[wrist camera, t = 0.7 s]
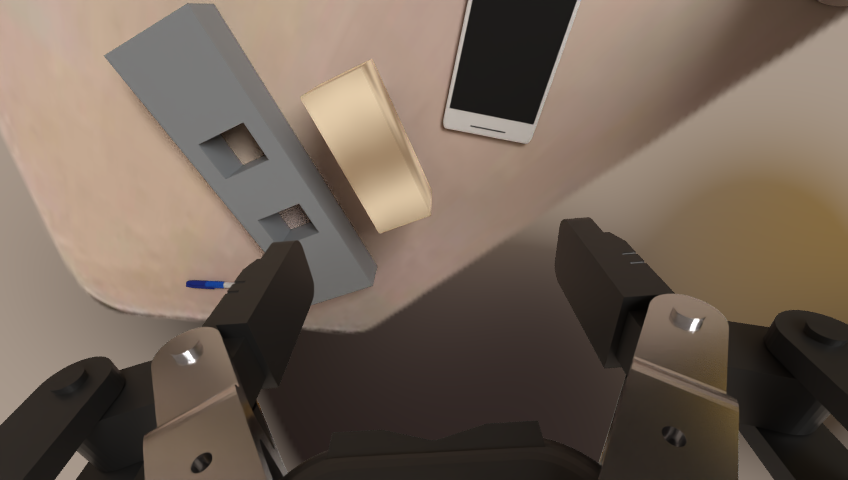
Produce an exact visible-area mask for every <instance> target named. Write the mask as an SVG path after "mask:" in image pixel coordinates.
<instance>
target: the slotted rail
mask: <svg viewBox="0 0 848 480" xmlns="http://www.w3.org/2000/svg"><path fill="white" fill-rule="evenodd" d="M104 57H105V58H106V59H107V60H108V61H109V63H110V64H111V65H112V66H113V68H114V69H115V70H116V71H117V72H118V74H119V75H120V76H121V77H122V79H123V80H124V81H125V82H126V83H127V85H128V86H129V87H130V88H131V90H132V91H133V92H134V93H135V94H136V96H137V97H138V98H139V99H140V101H141V102H142V103H143V104H144V105H145V107H146V108H147V109H148V110H149V112H150V113H151V114H152V115H153V116H154V118H155V119H156V120H157V121H158V123H159V124H160V125H161V126H162V127H163V129H164V130H165V131H166V132H167V134H168V135H169V136H170V137H171V138H172V140H173V141H174V142H175V143H176V145H177V146H178V147H179V148H180V149H181V151H182V152H183V153H184V154H185V156H186V157H187V158H188V159H189V160H190V162H191V163H192V164H193V165H194V167H195V168H196V169H197V170H198V171H199V173H200V174H201V175H202V176H203V178H204V179H205V180H206V181H207V182H208V184H209V185H210V186H211V187H212V189H213V190H214V191H215V192H216V193H217V195H218V196H219V197H220V198H221V200H222V201H223V202H224V203H225V204H226V206H227V207H228V208H229V209H230V211H231V212H232V213H233V214H234V215H235V217H236V218H237V219H238V220H239V222H240V223H241V224H242V225H243V226H244V228H245V229H246V230H247V231H248V233H249V234H250V235H251V236H252V237H253V239H254V240H255V241H256V242H257V244H258V245H259V246H260V247H261V248H262V250H263V251H264V252H266V250H267V249H268V248H269V246H270V245H271V243H273V242H281V241H294V240H298V241H299V242H300V243H301V244H302V247H303V250H304V253H305V256H306V259H307V262H308V265H309V268H310V271H311V275H312V278H313V281H314V297H313V301H312V303H311V305H314V304H317V303H320V302H323V301H326V300H329V299H333V298H336V297H339V296H342V295H345V294H348V293H352V292H355V291H358V290H361V289H364V288H367V287H370V286H373V283H374V278H375V274H376V270H377V265H376V263H375V262H374V260H373V258H372V257H371V255H370V254H369V252H368V250H367V249H366V247H365V246H364V244H363V242H362V241H361V239H360V238H359V236H358V234H357V233H356V231H355V230H354V228H353V226H352V225H351V223H350V222H349V220H348V218H347V217H346V215H345V214H344V212H343V210H342V209H341V207H340V206H339V204H338V202H337V201H336V199H335V198H334V196H333V194H332V193H331V191H330V189H329V188H328V186H327V185H326V183H325V181H324V180H323V178H322V177H321V175H320V173H319V172H318V170H317V169H316V167H315V165H314V164H313V162H312V161H311V159H310V157H309V156H308V154H307V153H306V151H305V149H304V148H303V146H302V145H301V143H300V141H299V140H298V138H297V137H296V135H295V133H294V132H293V130H292V128H291V127H290V125H289V124H288V122H287V120H286V119H285V117H284V116H283V114H282V112H281V111H280V109H279V108H278V106H277V104H276V103H275V101H274V100H273V98H272V96H271V95H270V93H269V92H268V90H267V88H266V87H265V85H264V84H263V82H262V80H261V79H260V77H259V76H258V74H257V72H256V71H255V69H254V67H253V66H252V64H251V63H250V61H249V59H248V58H247V56H246V55H245V53H244V51H243V50H242V48H241V47H240V45H239V43H238V42H237V40H236V39H235V37H234V35H233V34H232V32H231V31H230V29H229V27H228V26H227V24H226V23H225V21H224V19H223V18H222V16H221V15H220V13H219V11H218V10H217V8H216V6H215V5H214V4H194V3H187V4H186V5H184V6H182V7H181V8H179V9H178V10H176V11H174V12H173V13H171V14H170V15H168V16H167V17H165V18H163V19H162V20H160V21H159V22H157V23H155V24H154V25H152V26H151V27H149V28H147V29H146V30H144V31H143V32H141V33H139V34H138V35H136V36H135V37H133V38H131V39H130V40H128V41H127V42H125V43H123V44H122V45H120V46H119V47H117V48H115V49H114V50H112V51H111V52H109V53H107V54H106V55H104ZM241 123H244V124H245V126H246V127H247V129H248V130H249V132H250V133H251V135H252V136H253V137H254V139H255V140H256V142H257V143H258V145H259V146H260V148H261V149H262V151H263V152H264V153H265V155H264V156H262V157H260V158H258V159H256V160H253V161H251V162H249V163H247V164H245V165H242V163H241V162H240V160H239V159H238V158H237V156H236V155H235V154H234V152H233V151H232V150H231V148H230V147H229V146H228V144H227V143H226V141H225V140H224V139H223V137H222V136H221V135H220V134H221V133H223V132H225V131H227V130H229V129H231V128H233V127H235V126H237V125H239V124H241ZM297 204H300V206H301V207H302V208H303V210H304V211H305V213H306V214H307V216H308V217H309V219H310V220H311V221H312V222H310V223H307V224H304V225H302V226H299V227H297V228H294V229H291V230H290V228H289V227H288V225H287V224H286V223H285V221H284V220H283V219H282V217H281V216H280V215H279V213H278V212H280V211H282V210H285V209H287V208H289V207H292V206H294V205H297Z"/></svg>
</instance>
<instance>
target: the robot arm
mask: <svg viewBox="0 0 848 480" xmlns="http://www.w3.org/2000/svg"><path fill="white" fill-rule="evenodd" d="M817 1H819V2H821V3H824V4H827V5H831V6H848V0H817ZM555 272H556V277H557V280H558V283H559V284H560V286H561V288H562V290H563V292H564V294H565V296H566V298H567V299H568V301H569V303H570V305H571V307H572V309H573V311H574V313H575V314H576V316H577V318H578V320H579V322H580V324H581V326H582V328H583V329H584V331H585V333H586V335H587V337H588V339H589V341H590V343H591V344H592V346H593V348H594V350H595V352H596V354H597V356H598V358H599V359H600V361H601V363H602V365H603V367H604V368H617V367H622V368H623V370H624V372H625V374H626V377H625V380H624V383H623V386H622V389H621V392H620V396H619V399H618V402H617V406H616V409H615V413H614V416H613V419H612V422H611V425H610V429H609V432H608V435H607V438H606V442H605V445H604V448H603V451H602V454H601V458H600V460H599V463H597V462H596V461H595V460H593V459H592V458H590V457H589V456H587V455H585V454H583V453H582V452H580V451H578V450H576V449H574V448H572V447H569V446H567V445H565V444H562V443H559V442H556V441H553V440H550V439H546V438H543V436H542V433H541V430H540V426H539V423H538V421H525V422H508V423H490V424H484V425H481V426H478V427H475V428H472V429H469V430H466V431H463V432H460V433H457V434H454V435H451V436H448V437H445V438H442V439H438V440H427V439H423V438H418V437H413V436H409V435H404V434H399V433H395V432H390V431H385V430H370V431H353V432H336V433H332V437H331V441H330V446H329V450H328V451H325V452H322V453H320V454H318V455H316V456H314V457H312V458H310V459H308V460H306V461H305V462H303V463H301V464H300V465H298V466H297V467H295V468H294V469H293V470H291V471H290V472H289V473H288V472H287V470H286V468H285V466H284V464H283V462H282V459H281V457H280V454H279V452H278V449H277V447H276V445H275V442H274V440H273V437H272V434H271V432H270V430H269V427H268V425H267V422H266V420H265V417H264V414H263V413H262V409H261V407H260V405H259V403H258V401H257V397H258V394H259V392H260V390H261V389H268V388H278V387H279V385H280V382H281V380H282V377H283V375H284V372H285V370H286V367H287V364H288V362H289V359H290V357H291V354H292V352H293V349H294V347H295V344H296V342H297V339H298V336H299V334H300V331H301V329H302V326H303V324H304V321H305V319H306V316H307V313H308V311H309V308H310V306H311V303H312V301H313V297H314V281H313V278H312V275H311V271H310V268H309V265H308V262H307V259H306V256H305V253H304V250H303V247H302V244H301V243H300V242H299V241H298V240H294V241H281V242H273V243H271V245H270V246H269V248H268V249H267V250H266V252H265V253H264V255H263V256H262V258H261V259H257V260H255V261H254V262H253V263H251V264H250V265H249V266H247V267H246V268H245V269H243V270H242V272H241V273H240V275H239V276H238V277H237V279H236V280H235V284H232V286H231V287H230V288H229V290H228V291H227V292H228V294H225V295H224V297H223V298H222V300H221V301H220V302H219V304H218V305H217V306H216V308H215V309H214V311H213V312H212V313H211V315H210V316H209V317H208V319H207V320H206V322H205V323H204V324H203V326H202V327H199V328H195V329H191V330H188V331H186V332H184V333H181V334H179V335H177V336H176V337H174V338H172V339H171V340H170V341H168V342H167V343H166V344H165V345H163V346H162V347H161V348H160V349H159V350H158V352H157V353H156V354H155V356H154V358H153V360H152V361H148V362H145V363H142V364H138V365H135V366H132V367H129V368H125V369H122V370H118V368H117V367H116V366H115V365H114V364H113V363H112V361H111V360H110V359H109V358H106V357H92V358H88V359H84V360H81V361H79V362H76V363H74V364H71V365H69V366H67V367H66V368H64V369H62V370H60V371H59V372H57V373H55V374H54V375H53V376H51V377H50V378H48V379H47V380H46V381H45V382H43V383H42V384H41V385H40V386H39V387H38V388H37V389H36V390H35V391H34V392H33V393H32V394H31V395H30V396H29V397H28V398H27V399H26V400H25V401H24V402H23V403H22V404H21V405H20V406H19V407H18V408H17V409H16V410H15V411H14V412H13V413H12V414H11V415H10V416H9V417H8V418H7V419H6V420H5V421H4V422H3V423H2V424H1V425H0V480H55V479H56V477H57V476H58V474H59V473H60V472H61V471H62V469H63V467H65V465H66V464H67V463H68V461H69V460H70V459H71V457H72V456H73V455H74V453H75V452H76V451H77V452H79V453H80V454H81V455H82V456H83V457H84V458H86V459H87V460H88V461H89V462H88V463H87V465H86V466H85V468H84V469H83V470H82V472H81V473H80V475H79V476H78V477H77V479H76V480H738V471H739V470H738V468H739V464H738V463H739V431H740V433H741V434H742V435H743V437H744V438H745V440H746V441H747V442H748V444H749V445H750V447H751V448H752V449H753V451H754V452H755V453H756V455H757V456H758V458H759V459H760V461H761V462H762V463H763V465H764V466H765V468H766V469H767V470H768V471H769V473H770V474H771V476H772V477H773V479H774V480H848V450H847V449H846V448H845V446H844V445H843V444H842V443H841V442H840V441H839V440H838V439H837V438H836V437H835V436H834V435H833V434H832V433H831V432H830V431H829V429H828V428H827V427H826V426H825V425H824V424H823V423H822V422H823V421H824V420H825V419H826V418H827V417H828V416H829V414H830V413H831V414H832V415H833V416H834V417H835V418H836V419H837V420H838V421H839V422H840V423H841V424H842V425H843V426H844V427H845V428H846V430H847V431H848V325H847V324H845V323H843V322H841V321H839V320H836V319H833V318H831V317H828V316H825V315H822V314H818V313H814V312H809V311H801V310H789V311H784V312H781V313H779V314H778V315H777V316H776V317H775V319H774V321H773V323H772V324H771V326H770V327H764V326H757V325H750V324H743V323H737V322H730V321H727V320H726V318H725V317H724V316H723V315H722V314H721V312H719V311H718V310H717V309H716V308H714V307H713V306H711V305H709V304H708V303H706V302H704V301H701V300H699V299H696V298H694V297H690V296H686V295H681V294H675V293H674V292H673V291H672V290H671V289H670V288H669V287H668V286H667V285H666V283H665V282H663V280H662V279H661V278H660V277H659V276H658V275H657V274H656V273H655V272H654V271H653V270H652V269H651V268H650V267H649V266H648V264H646V263H644V260H643V259H642V258H641V257H640V256H639V255H638V254H636V253H635V251H634V250H633V249H632V248H631V246H630V245H629V244H628V243H627V242H626V241H624V240H622V239H621V238H619V237H617V236H615V235H614V234H612V233H610V232H605V233H604V232H602V230H601V229H600V228H599V227H598V226H597V224H596V223H595V222H594V221H593V220H592V219H591V218H589V217H587V218H575V219H564V220H562V221H561V224H560V228H559V235H558V243H557V251H556V258H555Z"/></svg>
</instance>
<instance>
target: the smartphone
mask: <svg viewBox="0 0 848 480" xmlns="http://www.w3.org/2000/svg"><path fill="white" fill-rule="evenodd" d="M580 2H581V0H468V2H467V7H466V12H465V17H464V21H463V26H462V31H461V36H460V41H459V46H458V50H457V55H456V60H455V65H454V70H453V75H452V79H451V84H450V89H449V94H448V99H447V104H446V108H445V113H444V119H443V124H444V127H445V128H447V129H452V130H457V131H462V132H468V133H473V134H478V135H483V136H488V137H493V138H498V139H504V140H509V141H514V142H519V143H524V144H527V143H529V142H530V140H531V139H532V136H533V134H534V131H535V128H536V125H537V122H538V120H539V117H540V114H541V111H542V108H543V106H544V103H545V100H546V97H547V94H548V92H549V89H550V86H551V83H552V80H553V78H554V75H555V72H556V69H557V66H558V64H559V61H560V58H561V55H562V52H563V49H564V47H565V44H566V41H567V38H568V35H569V33H570V30H571V27H572V24H573V21H574V19H575V16H576V13H577V10H578V7H579V5H580Z"/></svg>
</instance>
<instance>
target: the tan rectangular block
mask: <svg viewBox="0 0 848 480" xmlns="http://www.w3.org/2000/svg"><path fill="white" fill-rule="evenodd" d="M300 99H301V100H302V102H303V104H304V105H305V107H306V109H307V111H308V112H309V114H310V116H311V117H312V119H313V121H314V123H315V124H316V126H317V128H318V129H319V131H320V133H321V135H322V136H323V138H324V140H325V142H326V143H327V145H328V147H329V148H330V150H331V152H332V154H333V155H334V157H335V159H336V160H337V162H338V164H339V166H340V167H341V169H342V171H343V172H344V174H345V176H346V178H347V179H348V181H349V183H350V184H351V186H352V188H353V190H354V191H355V193H356V195H357V196H358V198H359V200H360V202H361V203H362V205H363V207H364V208H365V210H366V212H367V214H368V215H369V217H370V219H371V220H372V222H373V224H374V226H375V227H376V229H377V231H378V232H379V234H380V233H383V232H386V231H389V230H392V229H394V228H397V227H400V226H403V225H406V224H409V223H411V222H414V221H417V220H420V219H423V218H425V217H428V216H431V198H432V190H431V188H430V185H429V183H428V181H427V179H426V177H425V174H424V172H423V170H422V168H421V166H420V163H419V161H418V159H417V157H416V154H415V152H414V150H413V148H412V146H411V143H410V141H409V139H408V137H407V135H406V132H405V130H404V128H403V126H402V124H401V121H400V119H399V117H398V115H397V112H396V110H395V108H394V106H393V104H392V101H391V99H390V97H389V95H388V93H387V90H386V88H385V86H384V84H383V81H382V79H381V77H380V75H379V73H378V70H377V68H376V66H375V64H374V62H373V59H371V60H368V61H366V62H364V63H362V64H360V65H358V66H356V67H354V68H352V69H350V70H348V71H346V72H344V73H342V74H340V75H338V76H336V77H334V78H332V79H330V80H328V81H326V82H324V83H322V84H320V85H318V86H317V87H315V88H314V89H312V90H311V91H309V92H307V93H306V94H304V95H303V96H301V97H300Z"/></svg>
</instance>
